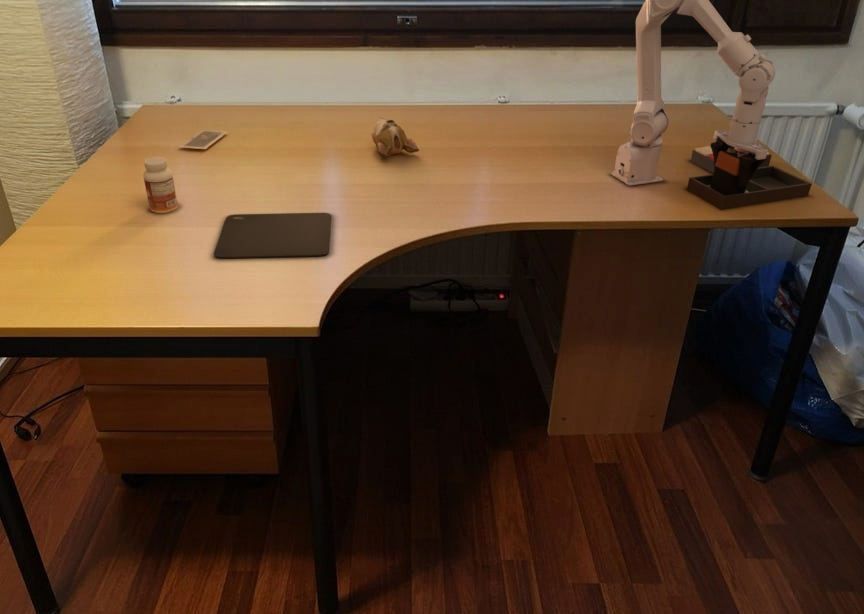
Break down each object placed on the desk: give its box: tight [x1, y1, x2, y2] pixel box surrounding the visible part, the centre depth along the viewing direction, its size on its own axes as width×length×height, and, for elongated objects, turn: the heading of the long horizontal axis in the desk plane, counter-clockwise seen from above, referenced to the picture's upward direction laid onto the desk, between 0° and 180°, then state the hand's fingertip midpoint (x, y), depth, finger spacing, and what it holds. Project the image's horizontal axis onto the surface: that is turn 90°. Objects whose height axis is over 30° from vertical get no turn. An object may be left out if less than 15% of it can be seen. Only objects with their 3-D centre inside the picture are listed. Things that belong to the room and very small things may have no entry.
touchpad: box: [178, 128, 229, 150], centre depth 203 cm, size 8×15×2 cm, turn 166°
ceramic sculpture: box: [371, 116, 420, 158], centre depth 194 cm, size 11×9×15 cm
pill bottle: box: [143, 156, 178, 214], centre depth 164 cm, size 6×6×11 cm
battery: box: [710, 147, 748, 196], centre depth 167 cm, size 4×7×10 cm, turn 19°
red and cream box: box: [690, 145, 772, 174], centre depth 186 cm, size 11×4×15 cm
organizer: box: [686, 165, 813, 211], centre depth 171 cm, size 24×12×3 cm, turn 108°
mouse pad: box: [213, 212, 332, 259], centre depth 155 cm, size 23×20×1 cm
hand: (730, 179), depth 168 cm, fingers open, 7 cm apart
